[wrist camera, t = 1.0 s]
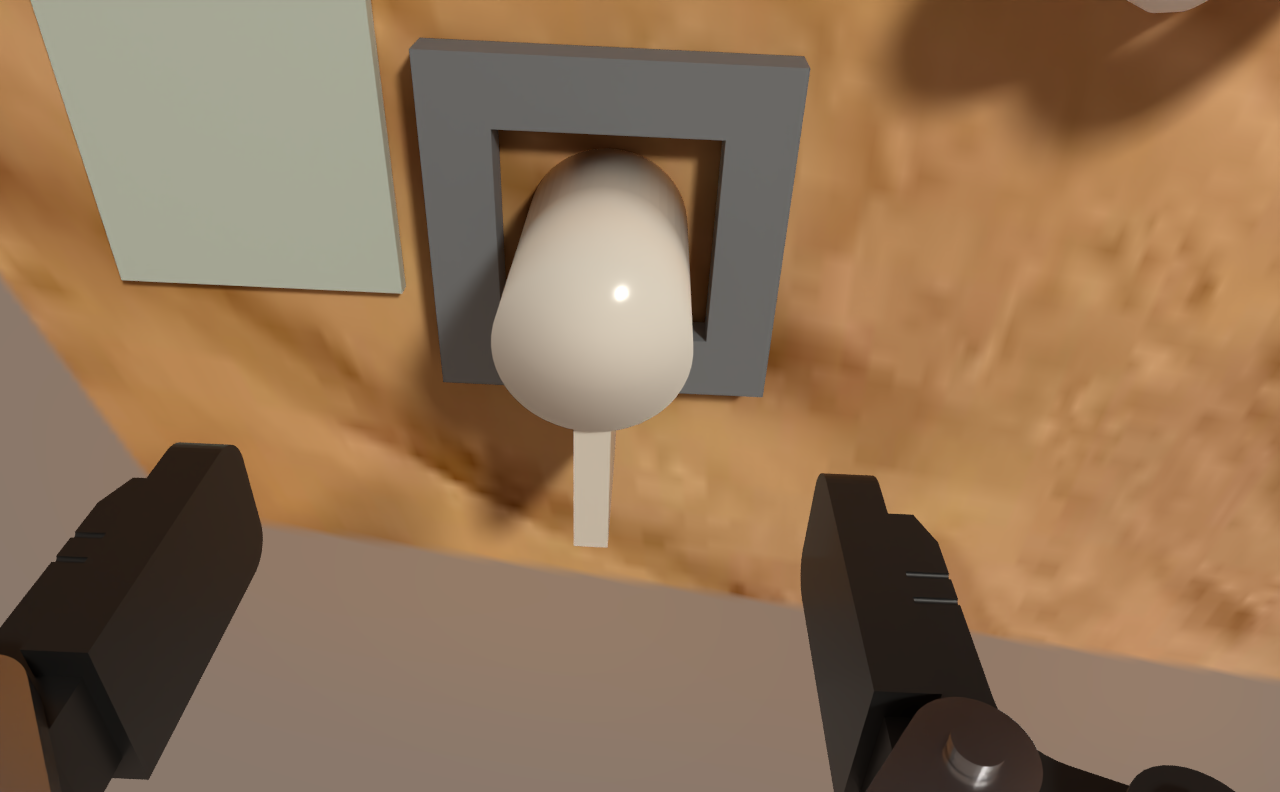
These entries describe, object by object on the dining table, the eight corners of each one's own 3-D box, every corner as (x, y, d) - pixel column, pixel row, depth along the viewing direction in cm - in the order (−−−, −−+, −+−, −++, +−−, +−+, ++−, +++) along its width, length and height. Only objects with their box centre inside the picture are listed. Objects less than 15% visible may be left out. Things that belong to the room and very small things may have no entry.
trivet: (129, 273, 35) (121, 280, 35) (32, -29, 29) (22, -26, 29) (405, 286, 36) (402, 293, 35) (369, -13, 29) (364, -9, 29)
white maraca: (526, 144, 32) (485, 254, 25) (693, 152, 32) (701, 264, 25) (535, 404, 39) (504, 552, 31) (673, 410, 39) (675, 560, 31)
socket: (450, 361, 38) (443, 381, 36) (419, 37, 30) (409, 49, 29) (759, 376, 38) (762, 397, 36) (804, 56, 30) (810, 68, 29)
